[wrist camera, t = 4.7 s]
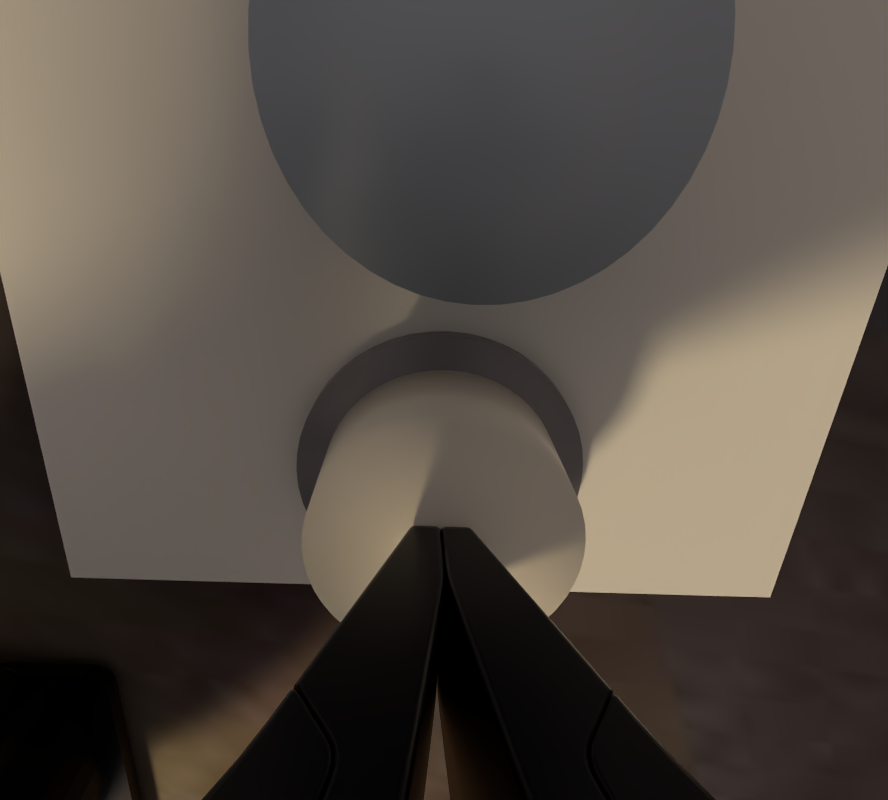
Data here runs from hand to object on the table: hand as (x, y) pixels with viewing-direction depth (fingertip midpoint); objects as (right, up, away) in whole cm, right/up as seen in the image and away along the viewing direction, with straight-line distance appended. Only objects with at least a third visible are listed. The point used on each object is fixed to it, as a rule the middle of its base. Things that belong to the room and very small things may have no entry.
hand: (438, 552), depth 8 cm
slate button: (0, +6, -2) cm, 6 cm away
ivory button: (0, +1, +2) cm, 2 cm away
